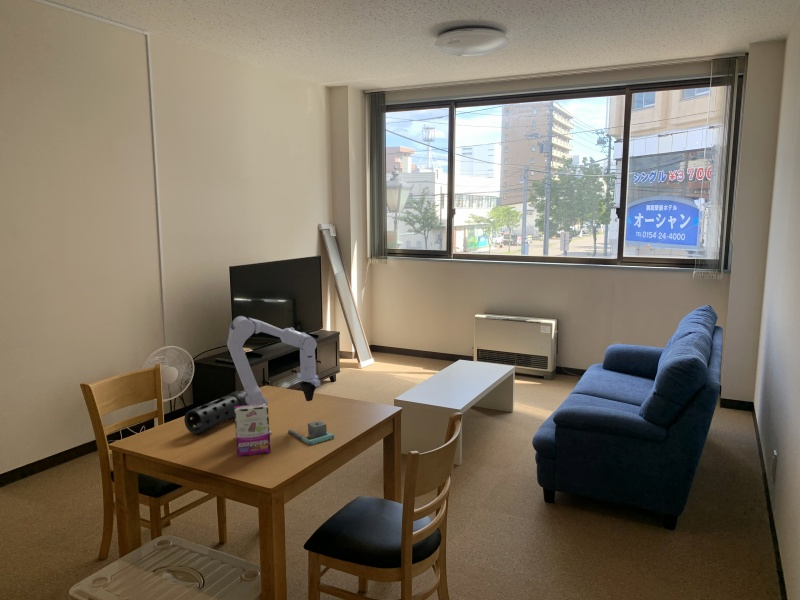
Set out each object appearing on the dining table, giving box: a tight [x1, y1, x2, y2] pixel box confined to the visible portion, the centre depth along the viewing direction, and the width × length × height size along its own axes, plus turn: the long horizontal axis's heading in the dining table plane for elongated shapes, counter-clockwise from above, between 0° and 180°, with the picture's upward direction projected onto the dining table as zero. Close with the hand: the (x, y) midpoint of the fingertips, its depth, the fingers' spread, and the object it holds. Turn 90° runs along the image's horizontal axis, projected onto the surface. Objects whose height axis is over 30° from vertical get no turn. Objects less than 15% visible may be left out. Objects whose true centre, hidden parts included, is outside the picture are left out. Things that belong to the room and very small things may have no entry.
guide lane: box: [287, 429, 335, 446], centre depth 219 cm, size 10×16×2 cm, turn 38°
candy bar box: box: [234, 403, 271, 458], centre depth 203 cm, size 11×5×16 cm, turn 106°
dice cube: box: [307, 420, 328, 439], centre depth 217 cm, size 5×5×5 cm
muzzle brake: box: [184, 390, 248, 436], centre depth 232 cm, size 10×28×10 cm, turn 154°
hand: (309, 400), depth 230 cm, fingers closed
